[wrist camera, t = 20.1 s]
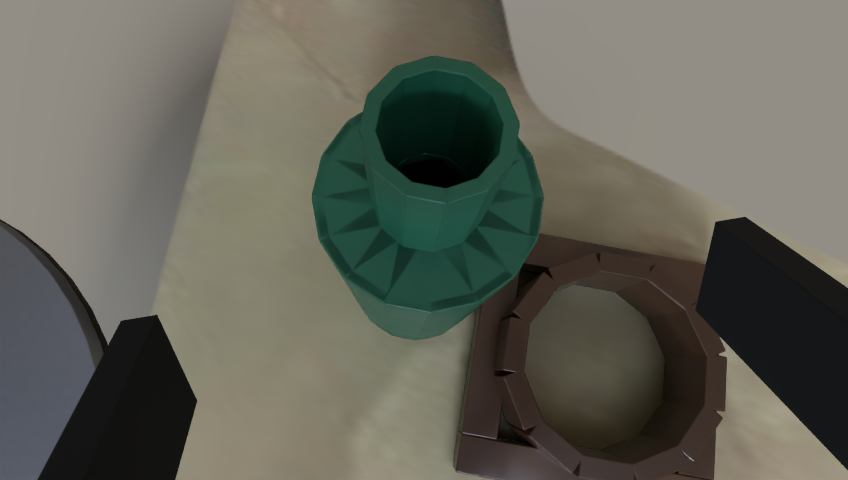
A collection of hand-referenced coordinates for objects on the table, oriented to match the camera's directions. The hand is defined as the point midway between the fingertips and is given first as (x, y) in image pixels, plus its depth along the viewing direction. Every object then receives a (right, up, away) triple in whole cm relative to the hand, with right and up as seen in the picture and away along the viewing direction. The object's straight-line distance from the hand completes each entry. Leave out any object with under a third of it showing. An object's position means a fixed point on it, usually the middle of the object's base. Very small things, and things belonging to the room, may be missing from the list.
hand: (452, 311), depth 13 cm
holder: (+8, -5, +16) cm, 18 cm away
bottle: (-1, 0, +16) cm, 16 cm away
